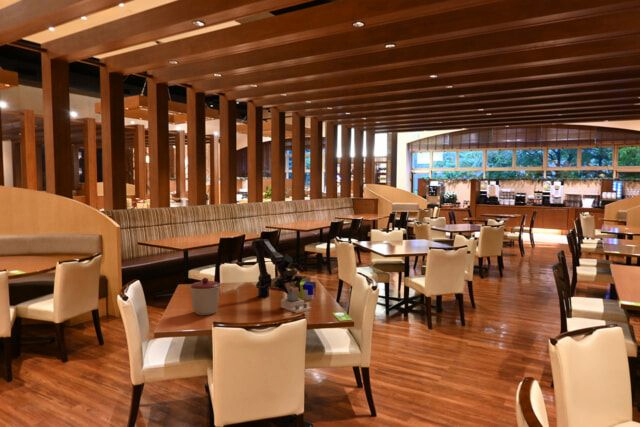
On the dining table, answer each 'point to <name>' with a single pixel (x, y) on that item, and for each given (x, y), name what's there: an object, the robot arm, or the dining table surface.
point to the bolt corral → (305, 278)
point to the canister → (205, 296)
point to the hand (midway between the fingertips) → (294, 292)
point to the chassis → (295, 305)
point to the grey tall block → (292, 294)
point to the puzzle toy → (307, 290)
